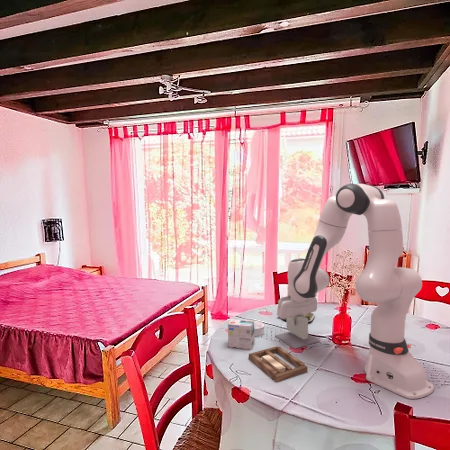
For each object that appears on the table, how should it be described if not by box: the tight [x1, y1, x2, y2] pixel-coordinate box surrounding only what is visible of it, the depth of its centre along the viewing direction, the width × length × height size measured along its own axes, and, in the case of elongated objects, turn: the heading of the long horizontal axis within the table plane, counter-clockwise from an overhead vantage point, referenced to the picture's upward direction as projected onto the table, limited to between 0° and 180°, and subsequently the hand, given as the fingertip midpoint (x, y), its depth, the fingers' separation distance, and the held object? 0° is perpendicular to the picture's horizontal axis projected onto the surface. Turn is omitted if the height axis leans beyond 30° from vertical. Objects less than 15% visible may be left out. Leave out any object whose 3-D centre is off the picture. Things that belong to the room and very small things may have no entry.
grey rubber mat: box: [275, 331, 320, 350], centre depth 153 cm, size 14×14×1 cm
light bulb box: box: [227, 318, 256, 351], centre depth 147 cm, size 11×7×11 cm, turn 74°
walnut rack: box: [248, 345, 308, 383], centre depth 131 cm, size 19×14×2 cm
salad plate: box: [281, 312, 315, 325], centre depth 180 cm, size 19×18×5 cm
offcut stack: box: [261, 355, 286, 373], centre depth 128 cm, size 11×3×3 cm, turn 27°
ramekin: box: [254, 320, 265, 337], centre depth 160 cm, size 9×9×4 cm
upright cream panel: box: [286, 315, 309, 340], centre depth 153 cm, size 12×2×9 cm, turn 27°
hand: (297, 324), depth 152 cm, fingers closed on upright cream panel, 2 cm apart
